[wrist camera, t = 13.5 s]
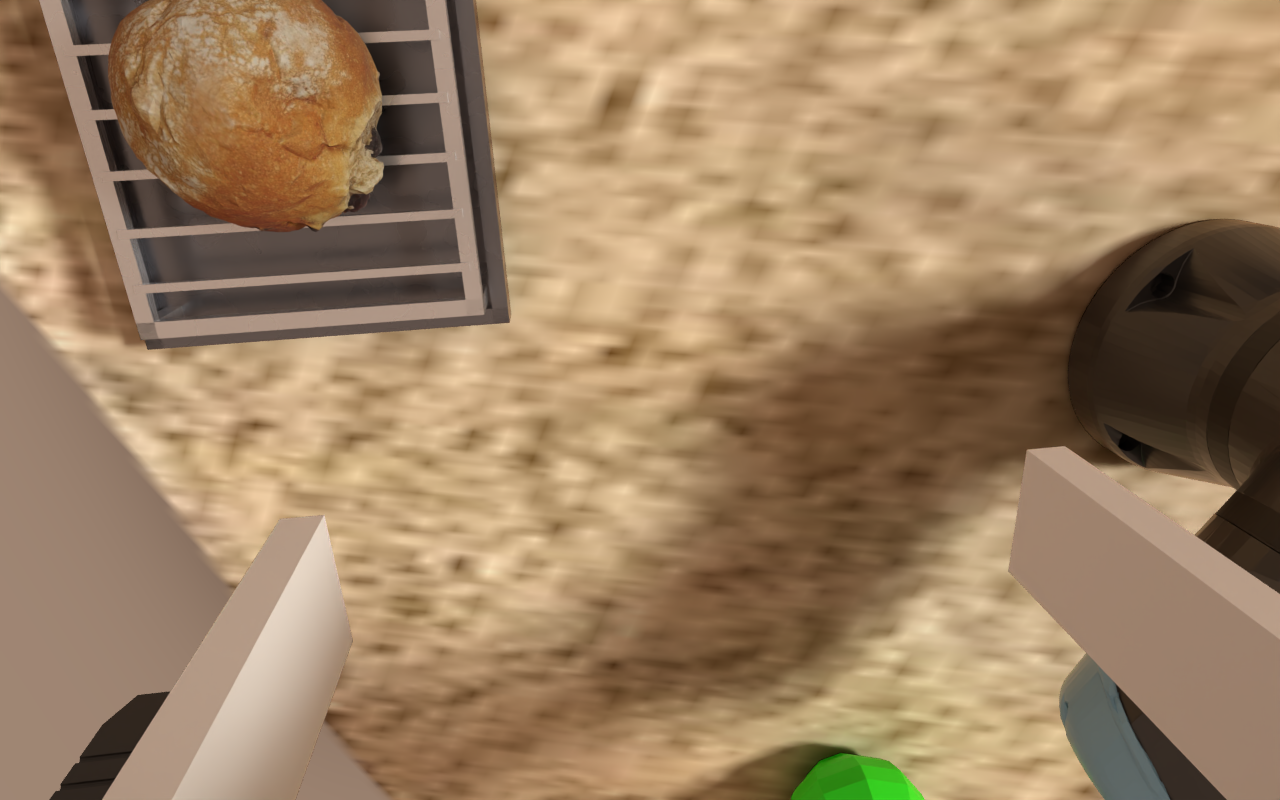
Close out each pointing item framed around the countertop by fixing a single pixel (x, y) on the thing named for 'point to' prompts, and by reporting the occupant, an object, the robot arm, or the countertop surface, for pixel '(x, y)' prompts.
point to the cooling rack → (346, 245)
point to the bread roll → (250, 108)
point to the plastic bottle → (855, 780)
